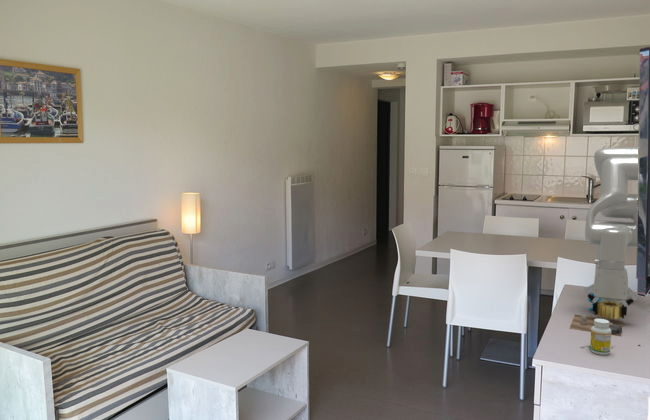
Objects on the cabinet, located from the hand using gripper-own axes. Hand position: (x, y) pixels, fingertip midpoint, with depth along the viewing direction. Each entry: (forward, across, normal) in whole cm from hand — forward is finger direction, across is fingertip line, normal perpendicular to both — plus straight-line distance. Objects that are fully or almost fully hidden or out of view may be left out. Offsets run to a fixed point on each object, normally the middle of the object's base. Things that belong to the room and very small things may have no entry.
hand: (609, 314), depth 181 cm
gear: (+4, -4, +12) cm, 13 cm away
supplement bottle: (+3, -1, -28) cm, 28 cm away
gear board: (+4, -3, -5) cm, 7 cm away
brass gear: (0, 0, 0) cm, 0 cm away
